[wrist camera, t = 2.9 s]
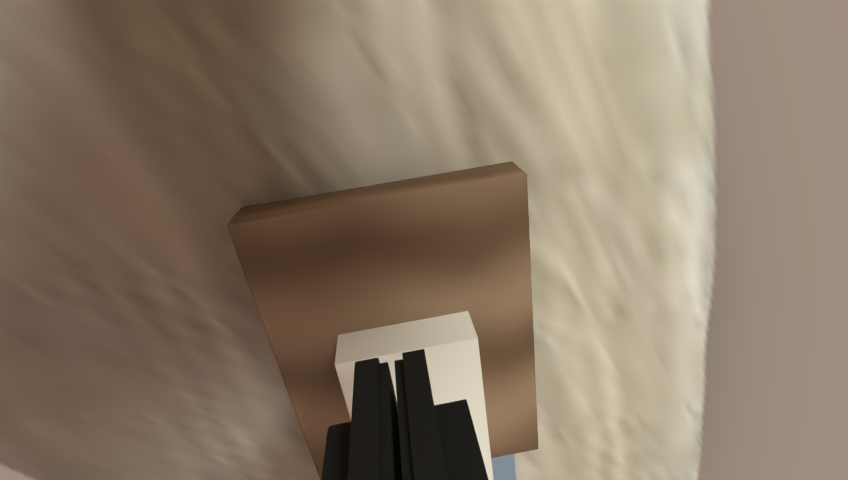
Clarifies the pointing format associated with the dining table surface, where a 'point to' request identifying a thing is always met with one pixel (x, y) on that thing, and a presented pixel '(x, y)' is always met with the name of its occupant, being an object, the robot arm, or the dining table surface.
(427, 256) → the plate
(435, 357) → the cream rectangular block
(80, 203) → the dining table surface
